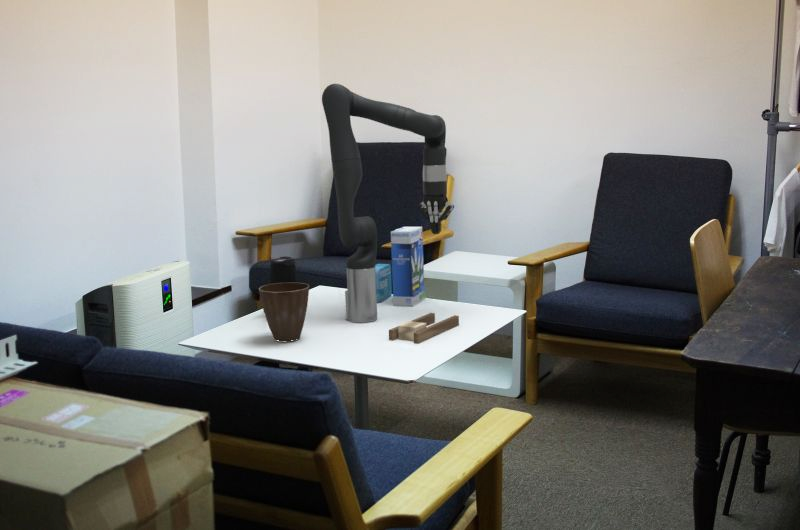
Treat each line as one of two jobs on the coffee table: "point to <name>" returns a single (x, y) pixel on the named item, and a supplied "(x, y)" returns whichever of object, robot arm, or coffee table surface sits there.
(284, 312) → the plant pot
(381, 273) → the data package
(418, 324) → the maple block
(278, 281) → the portable speaker
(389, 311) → the coffee table surface
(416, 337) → the walnut chute
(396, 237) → the string lights box
